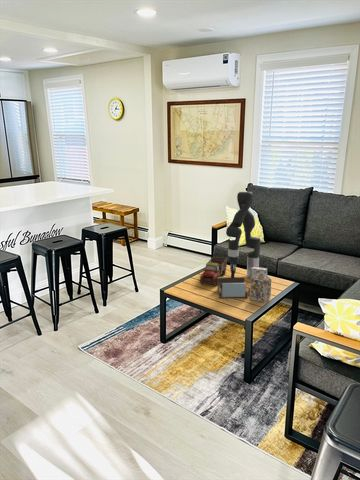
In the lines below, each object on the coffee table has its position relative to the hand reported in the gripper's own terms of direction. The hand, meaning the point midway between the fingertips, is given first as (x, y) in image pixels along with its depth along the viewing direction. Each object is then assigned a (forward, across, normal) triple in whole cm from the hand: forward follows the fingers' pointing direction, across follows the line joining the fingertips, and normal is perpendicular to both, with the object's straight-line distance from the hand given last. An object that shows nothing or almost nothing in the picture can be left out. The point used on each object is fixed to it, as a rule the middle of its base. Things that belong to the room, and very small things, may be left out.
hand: (232, 277), depth 267 cm
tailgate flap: (+11, +6, 0) cm, 13 cm away
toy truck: (+13, -32, -10) cm, 37 cm away
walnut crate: (+13, -2, 0) cm, 13 cm away
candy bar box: (+13, -11, +21) cm, 27 cm away
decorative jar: (+13, +6, +19) cm, 24 cm away
